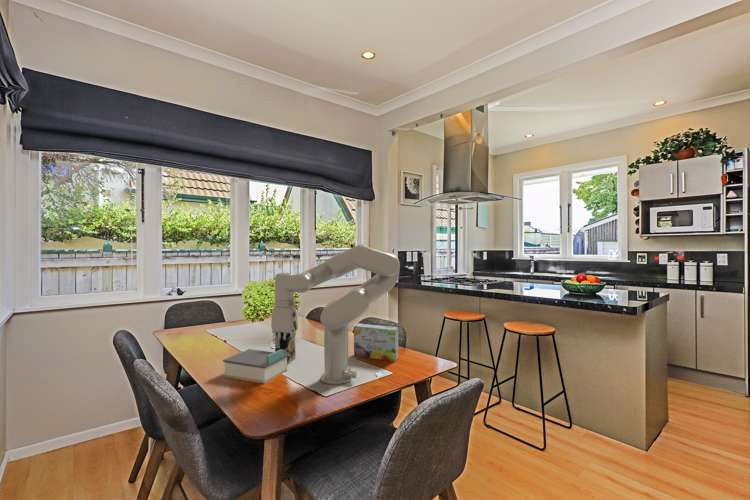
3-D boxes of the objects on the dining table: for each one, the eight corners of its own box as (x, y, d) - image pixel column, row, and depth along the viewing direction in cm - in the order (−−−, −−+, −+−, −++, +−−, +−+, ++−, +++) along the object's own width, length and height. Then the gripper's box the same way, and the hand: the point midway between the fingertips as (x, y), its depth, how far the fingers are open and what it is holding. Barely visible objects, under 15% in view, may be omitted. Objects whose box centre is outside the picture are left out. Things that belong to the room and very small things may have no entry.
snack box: (353, 356, 181) (353, 325, 180) (358, 353, 186) (358, 322, 186) (395, 362, 173) (395, 329, 173) (399, 358, 178) (399, 326, 178)
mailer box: (287, 370, 162) (286, 357, 162) (264, 383, 148) (264, 368, 148) (249, 365, 169) (249, 351, 169) (224, 376, 155) (224, 362, 155)
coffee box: (288, 364, 170) (287, 329, 169) (274, 363, 171) (274, 328, 170) (296, 358, 179) (295, 324, 178) (283, 357, 180) (283, 323, 179)
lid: (288, 356, 162) (288, 347, 162) (264, 368, 147) (264, 358, 147) (249, 350, 170) (248, 342, 170) (223, 361, 155) (222, 352, 155)
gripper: (305, 303, 153) (304, 348, 154) (274, 300, 158) (274, 344, 159) (294, 306, 146) (294, 353, 147) (263, 303, 151) (262, 348, 152)
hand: (283, 348), depth 153 cm, fingers closed
